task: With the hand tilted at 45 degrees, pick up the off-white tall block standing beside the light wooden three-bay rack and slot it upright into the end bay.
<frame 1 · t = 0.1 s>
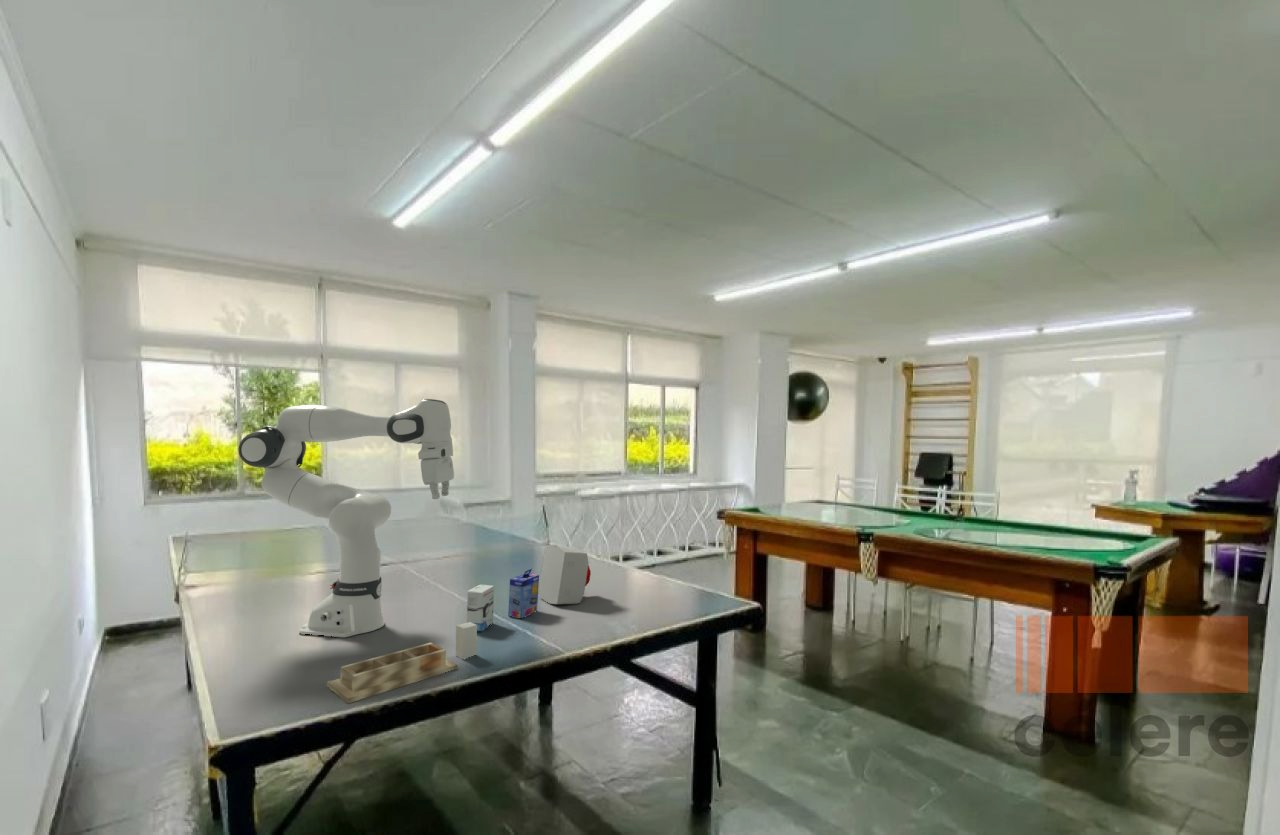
hand: (440, 497, 175), 39 cm above the table, tool pointing down, fingers open, 8 cm apart
electrical switch box: (567, 600, 205), on the table
ink cartridge box: (523, 614, 187), on the table
off-white tall block: (465, 655, 151), on the table
rack: (394, 677, 137), on the table
ink box: (480, 628, 174), on the table
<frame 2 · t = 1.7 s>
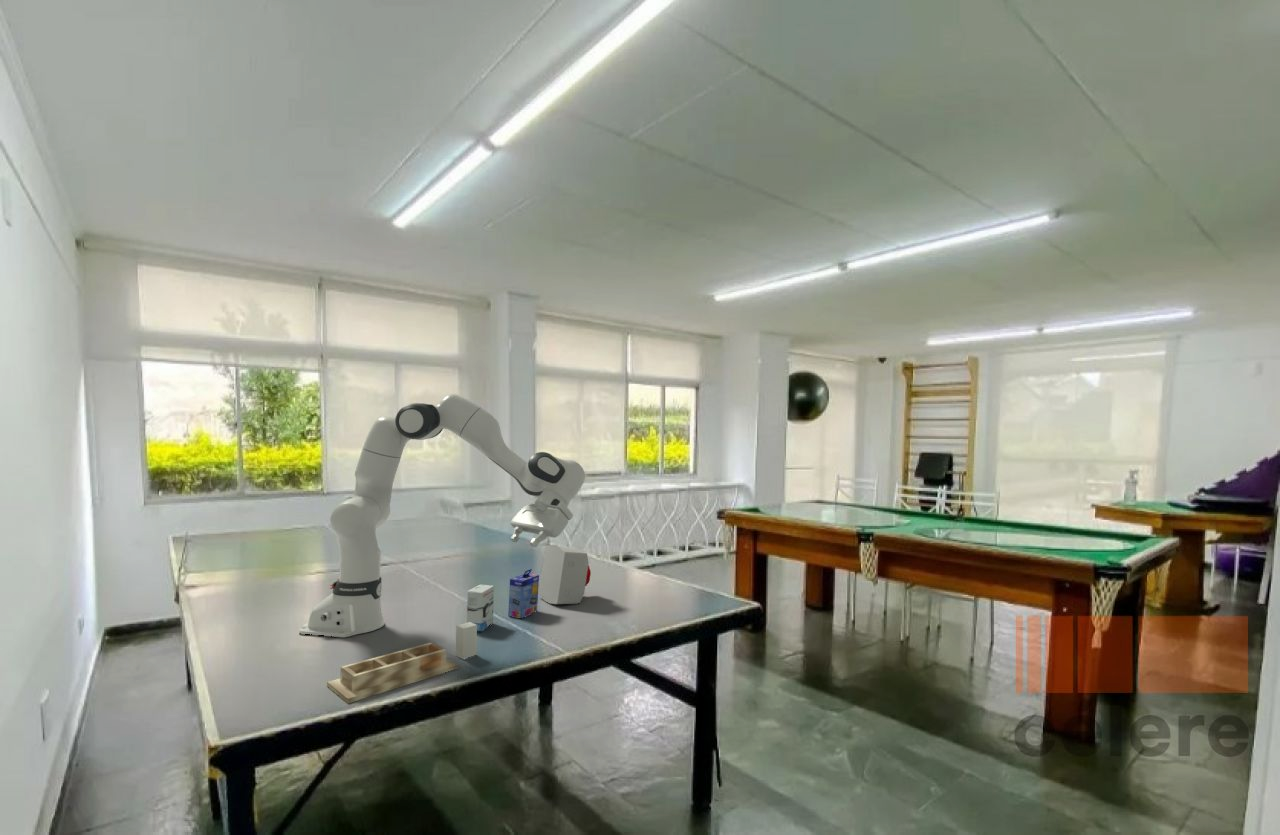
hand: (522, 543, 167), 27 cm above the table, tool tilted 45°, fingers open, 8 cm apart
nothing on the table moved.
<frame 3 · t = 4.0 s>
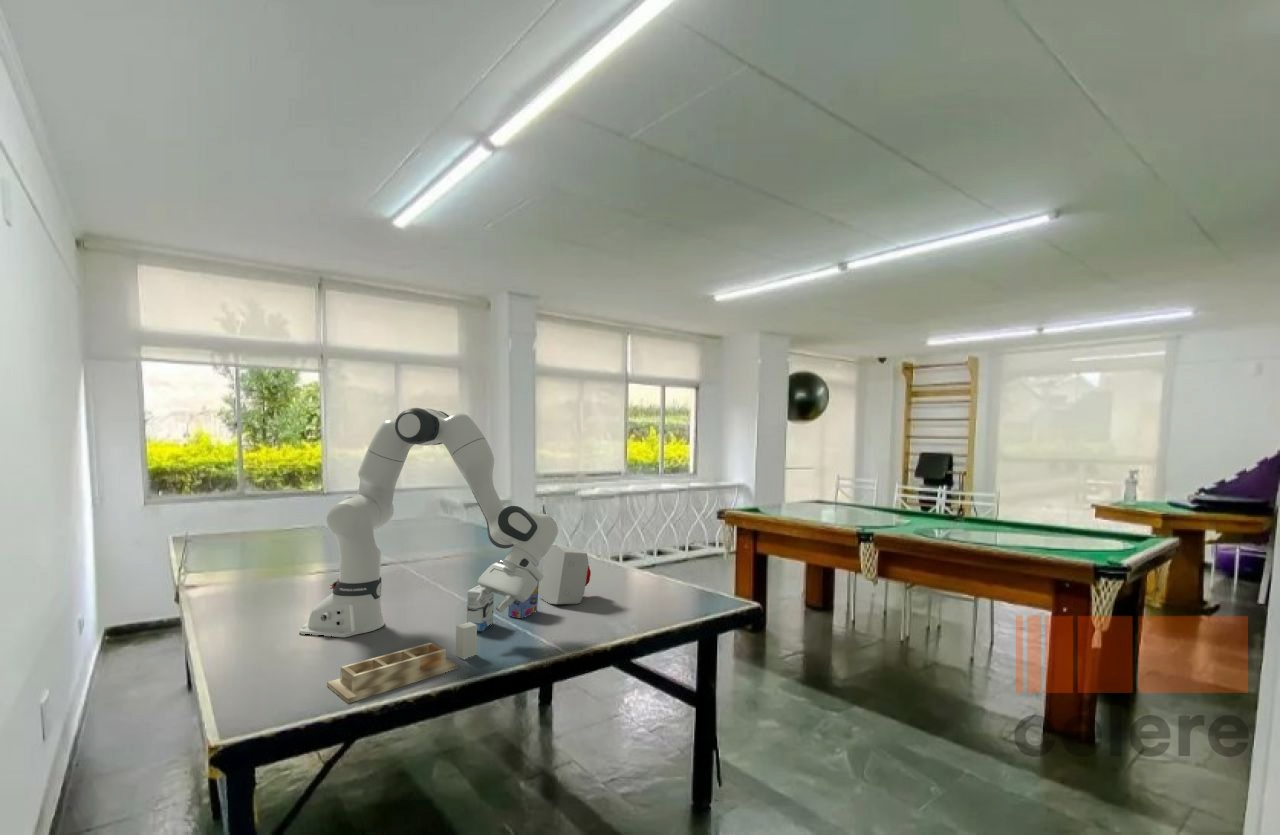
hand: (488, 606, 157), 11 cm above the table, tool tilted 45°, fingers open, 8 cm apart
nothing on the table moved.
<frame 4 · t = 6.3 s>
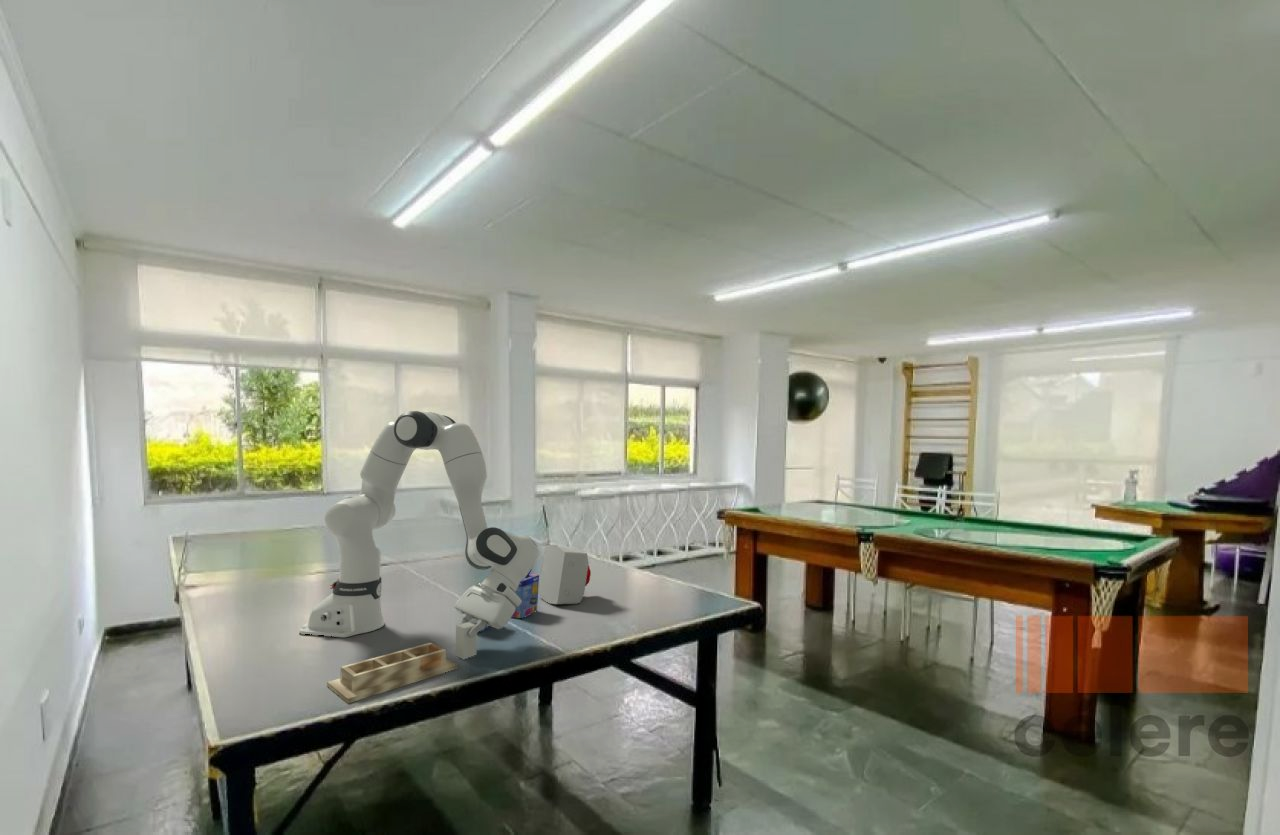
hand: (464, 633, 151), 6 cm above the table, tool tilted 45°, fingers closed on off-white tall block, 3 cm apart
off-white tall block: (465, 655, 151), on the table, touching gripper
everything else where it was.
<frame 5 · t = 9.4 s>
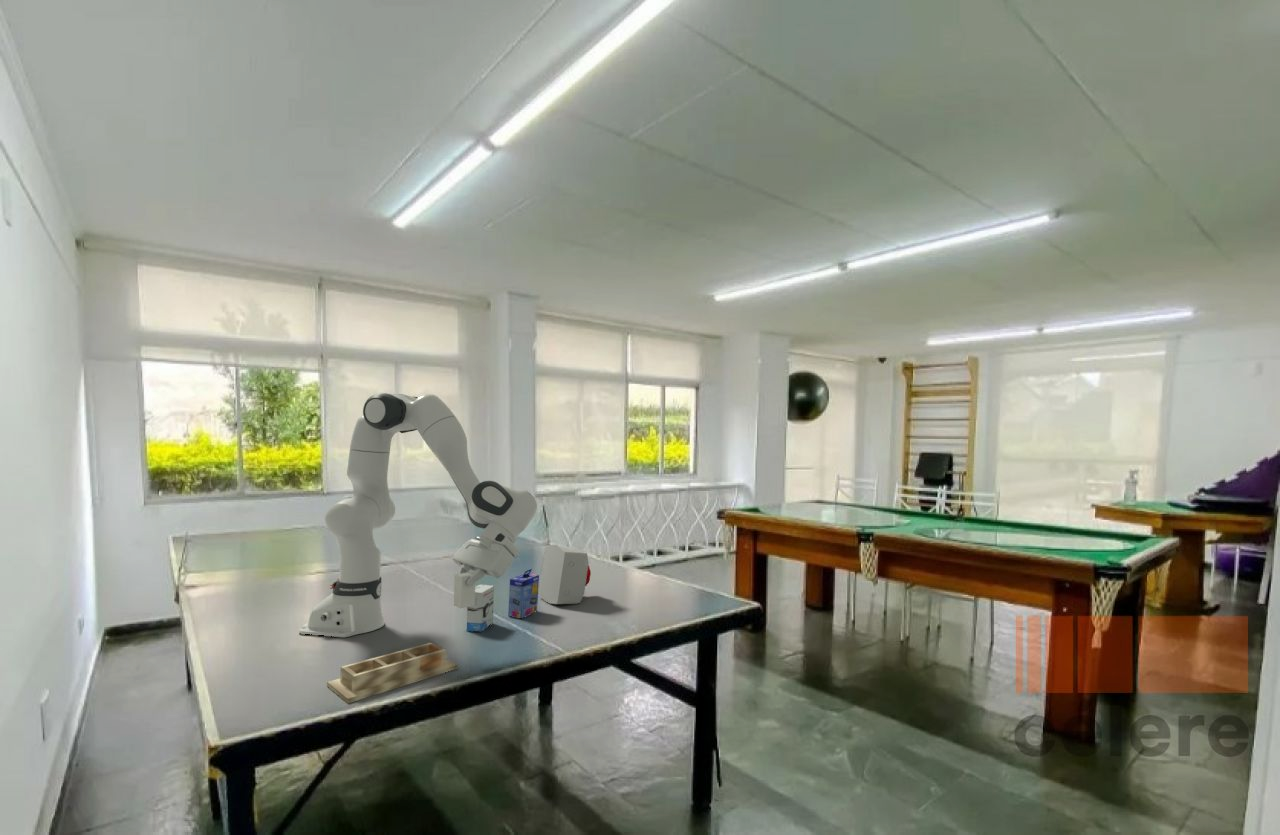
hand: (462, 583, 151), 19 cm above the table, tool tilted 45°, fingers closed on off-white tall block, 3 cm apart
off-white tall block: (464, 605, 151), point 13 cm above the table, touching gripper
everything else where it was.
when the fingers open (8 cm above the table, at t = 12.5 s): off-white tall block stays where it is, resting on rack.
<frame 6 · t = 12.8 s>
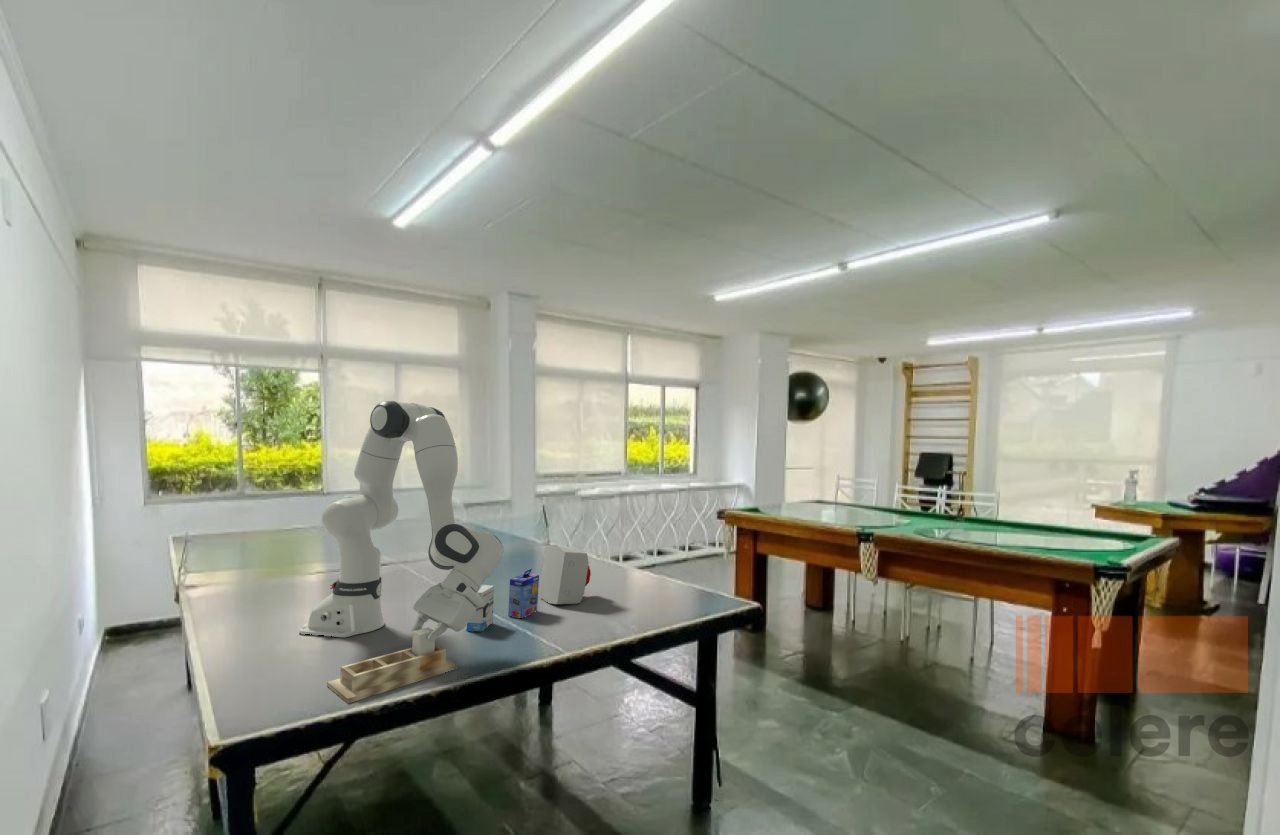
hand: (421, 636, 142), 8 cm above the table, tool tilted 45°, fingers open, 6 cm apart
off-white tall block: (422, 663, 143), point 1 cm above the table, touching rack
everything else where it was.
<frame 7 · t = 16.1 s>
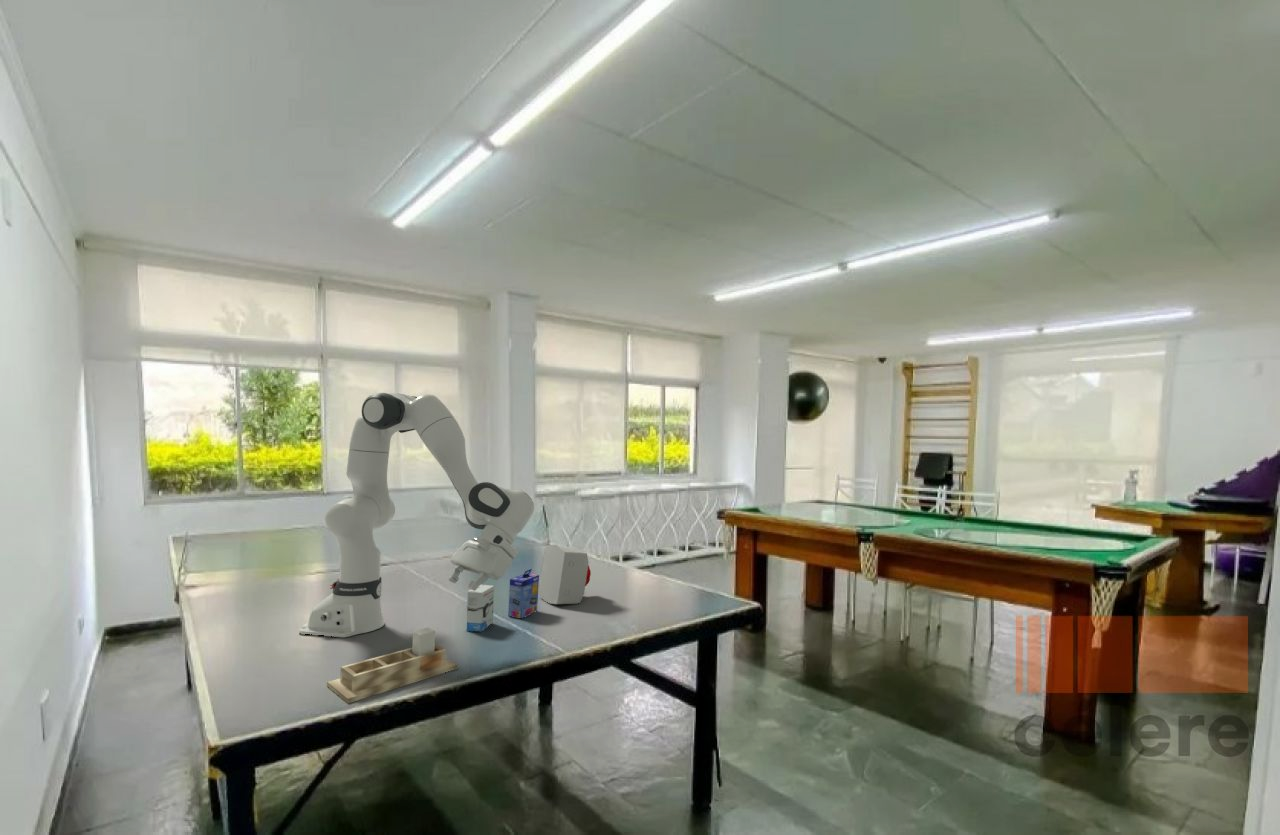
hand: (461, 585, 151), 19 cm above the table, tool tilted 45°, fingers open, 8 cm apart
nothing on the table moved.
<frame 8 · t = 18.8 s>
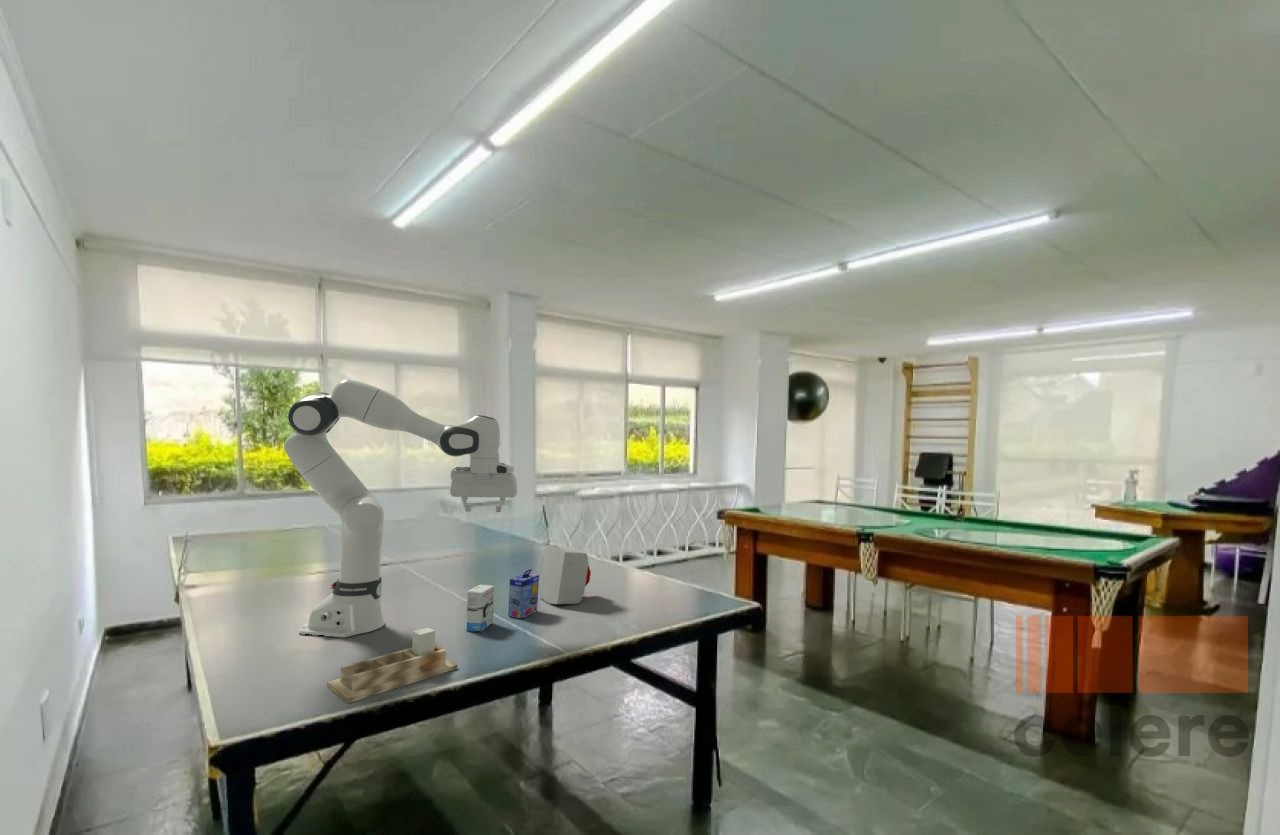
hand: (483, 511, 180), 34 cm above the table, tool pointing down, fingers open, 8 cm apart
nothing on the table moved.
at the end: off-white tall block 0.2 cm from the target spot on the rack, point 1.2 cm above the rack's base; off-white tall block tilted 0°; the gripper is holding nothing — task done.
